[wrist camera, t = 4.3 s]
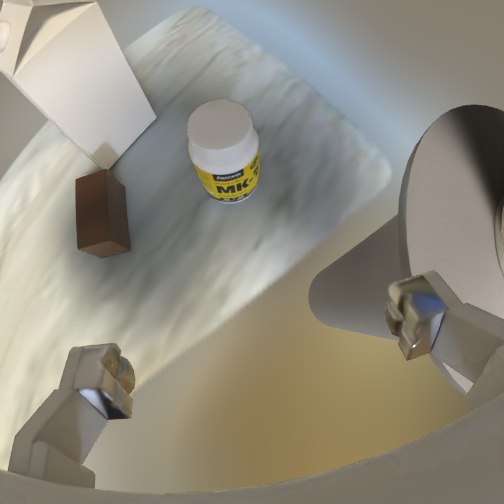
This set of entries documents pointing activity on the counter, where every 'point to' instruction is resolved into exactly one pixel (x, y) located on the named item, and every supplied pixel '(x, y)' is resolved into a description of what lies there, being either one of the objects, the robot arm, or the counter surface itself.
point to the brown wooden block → (101, 215)
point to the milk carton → (74, 74)
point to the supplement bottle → (224, 150)
